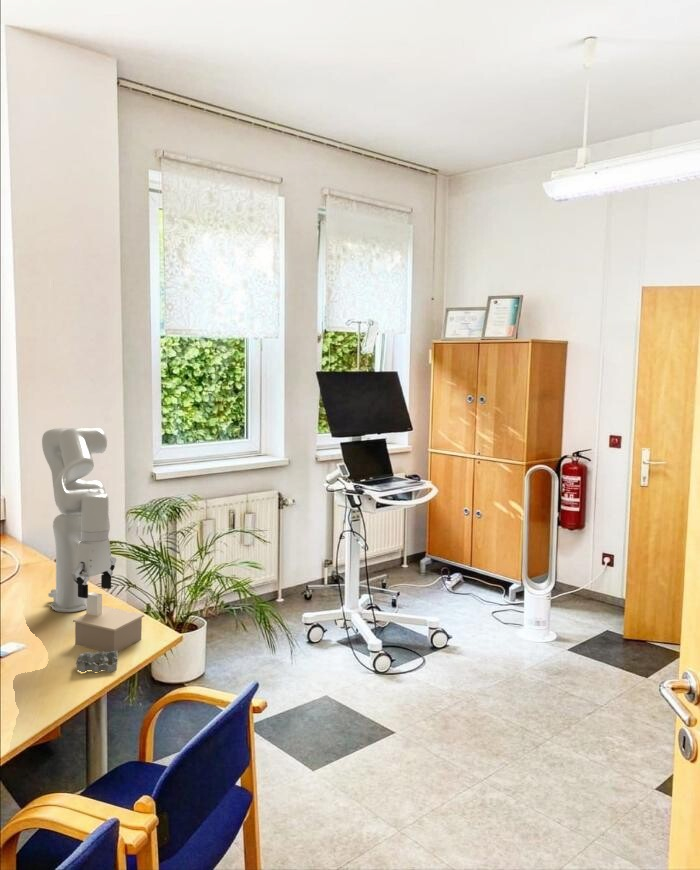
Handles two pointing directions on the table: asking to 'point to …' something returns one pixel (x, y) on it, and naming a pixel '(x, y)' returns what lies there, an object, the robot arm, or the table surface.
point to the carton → (107, 636)
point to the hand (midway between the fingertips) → (94, 592)
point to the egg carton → (90, 659)
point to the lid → (105, 615)
